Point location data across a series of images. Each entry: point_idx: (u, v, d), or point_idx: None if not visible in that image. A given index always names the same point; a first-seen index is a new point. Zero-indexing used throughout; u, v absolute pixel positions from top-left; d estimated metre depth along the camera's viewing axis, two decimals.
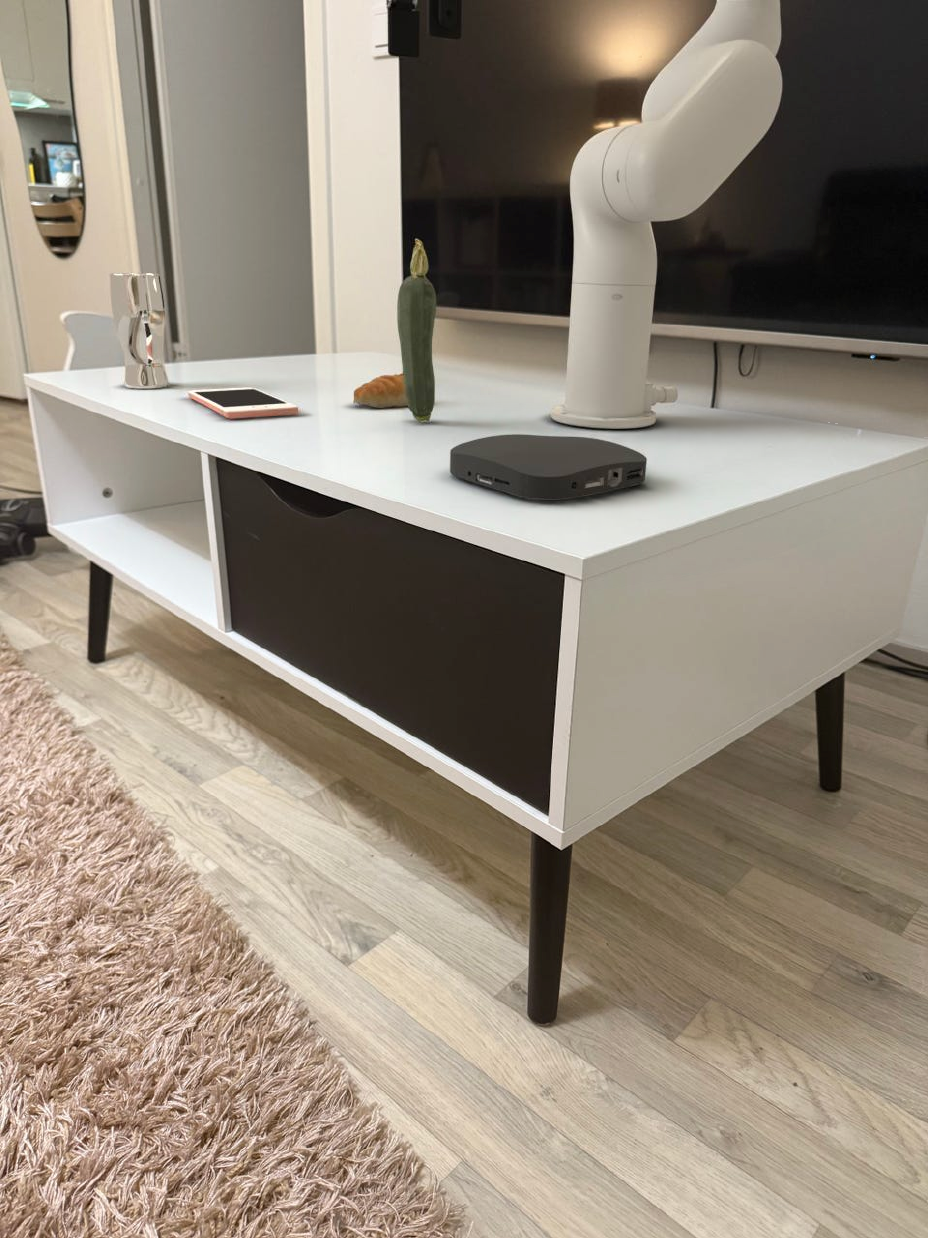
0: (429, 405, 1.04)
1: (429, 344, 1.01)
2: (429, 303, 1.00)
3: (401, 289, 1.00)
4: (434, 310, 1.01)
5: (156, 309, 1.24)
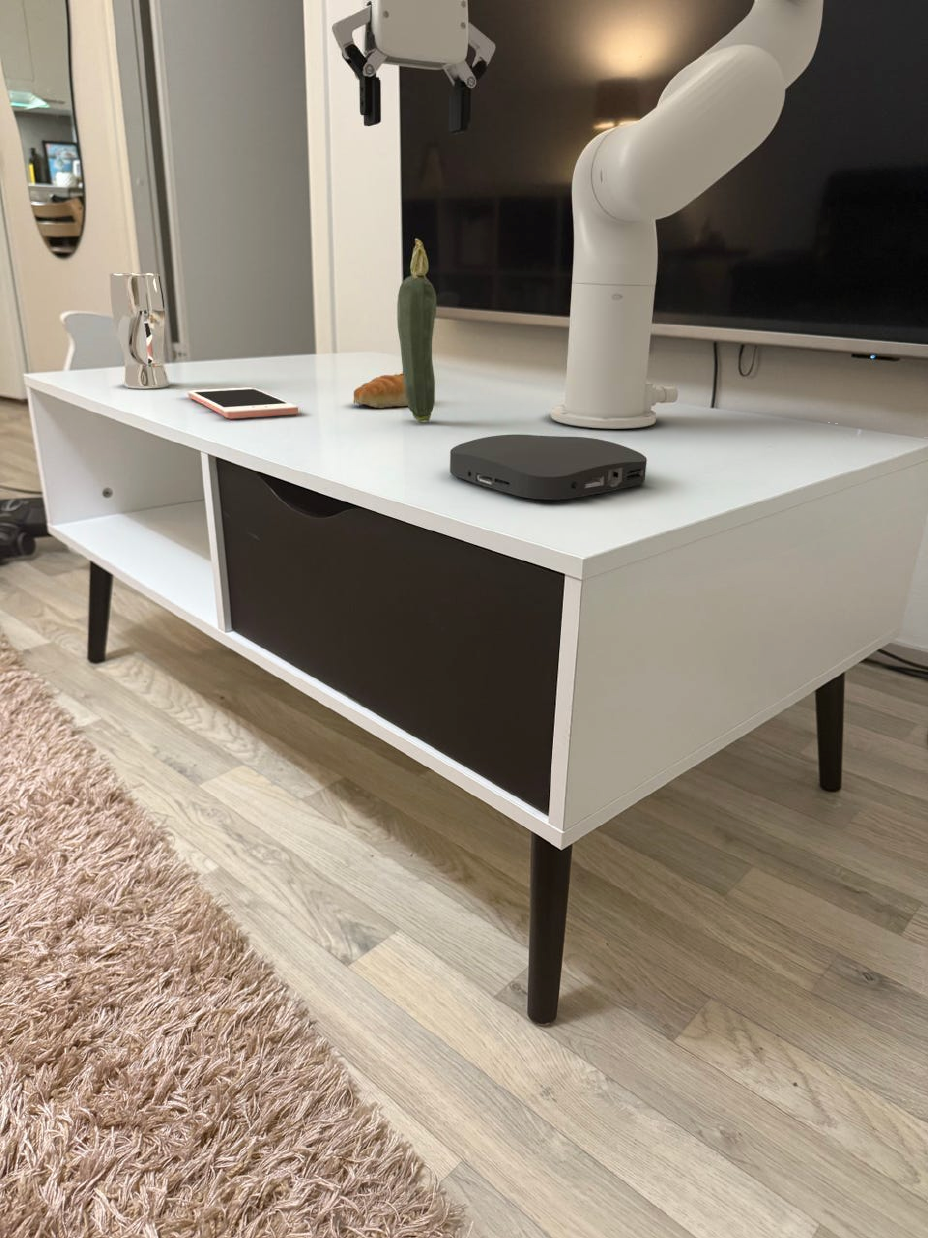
0: (429, 405, 1.04)
1: (429, 344, 1.01)
2: (429, 303, 1.00)
3: (401, 289, 1.00)
4: (434, 310, 1.01)
5: (156, 309, 1.24)
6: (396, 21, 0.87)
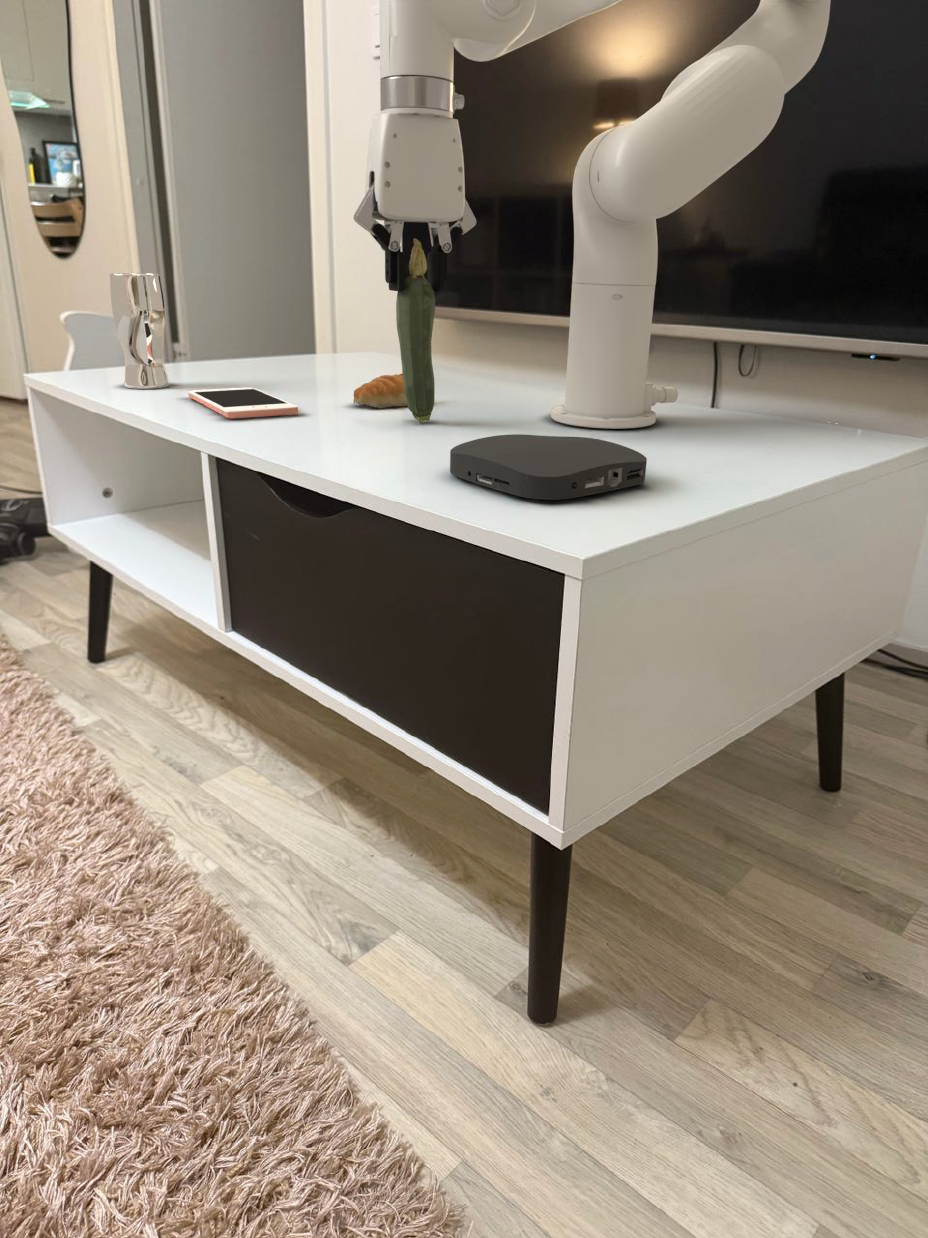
0: (429, 405, 1.04)
1: (429, 344, 1.01)
2: (428, 303, 0.99)
3: None
4: (433, 310, 1.01)
5: (156, 309, 1.24)
6: (397, 190, 0.94)
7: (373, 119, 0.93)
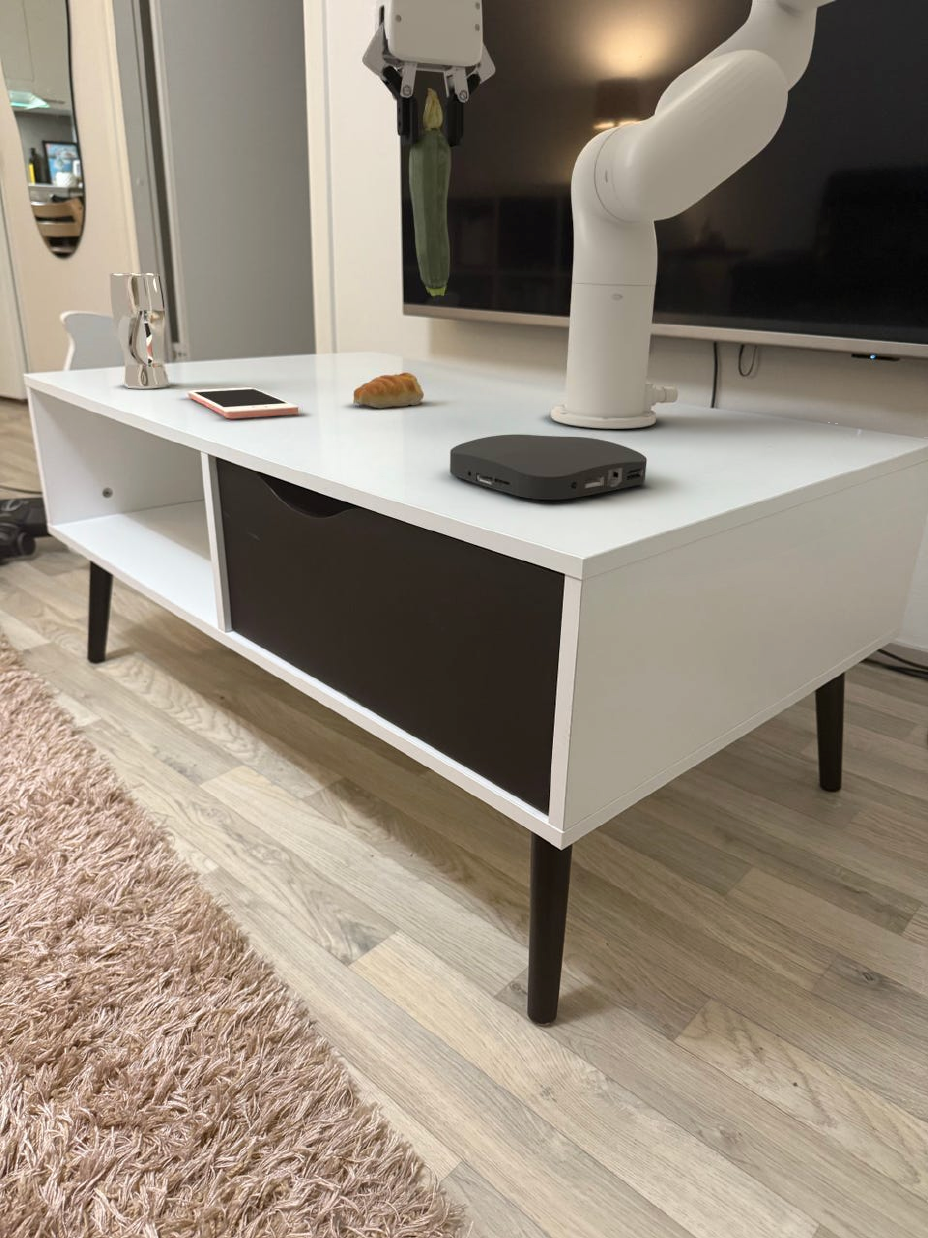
0: (444, 275, 0.97)
1: (444, 205, 0.94)
2: (443, 158, 0.92)
3: None
4: (449, 167, 0.93)
5: (156, 309, 1.24)
6: (409, 25, 0.86)
7: None
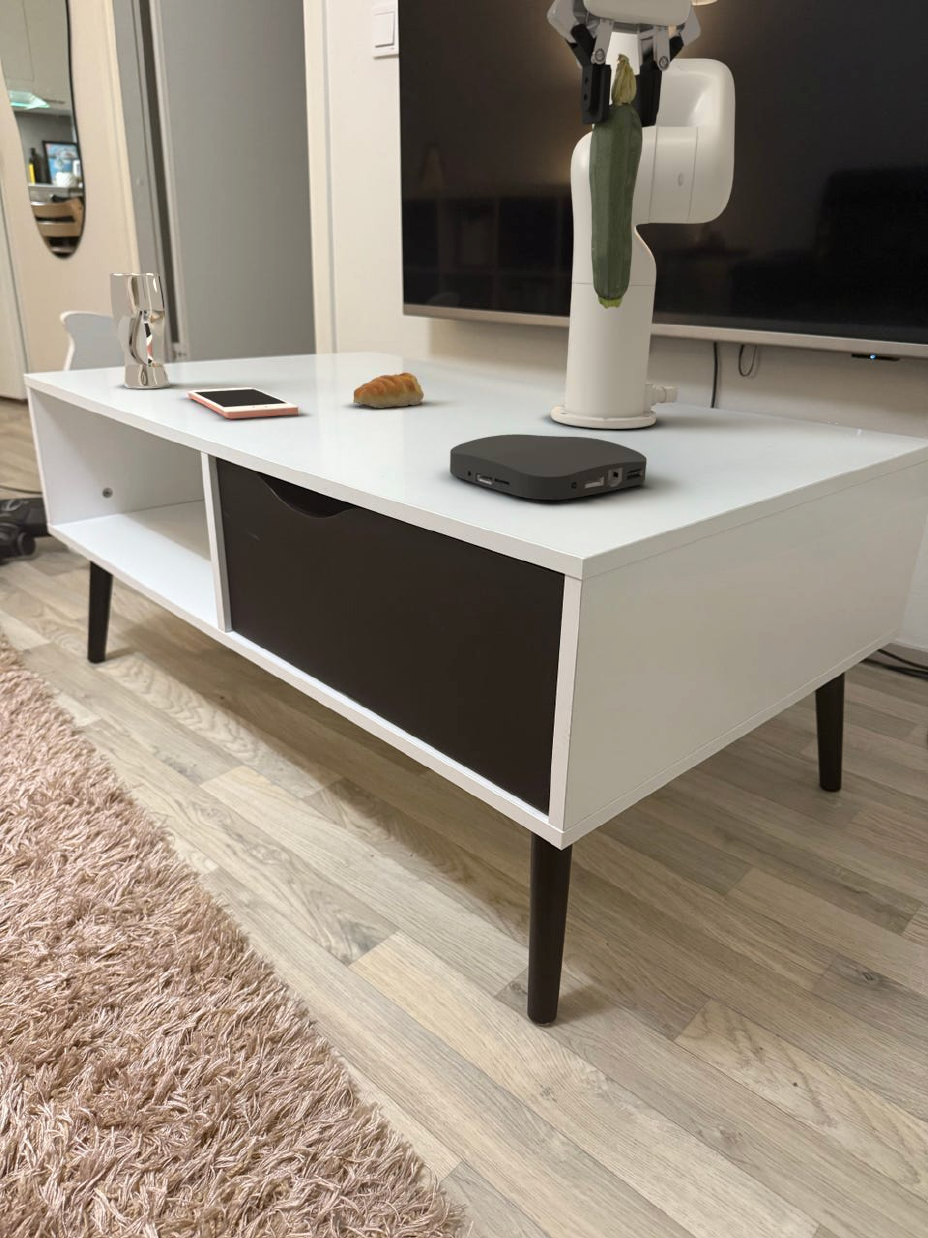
0: (624, 284, 0.80)
1: (632, 198, 0.77)
2: (636, 140, 0.75)
3: None
4: (640, 151, 0.76)
5: (156, 309, 1.24)
6: None
7: None
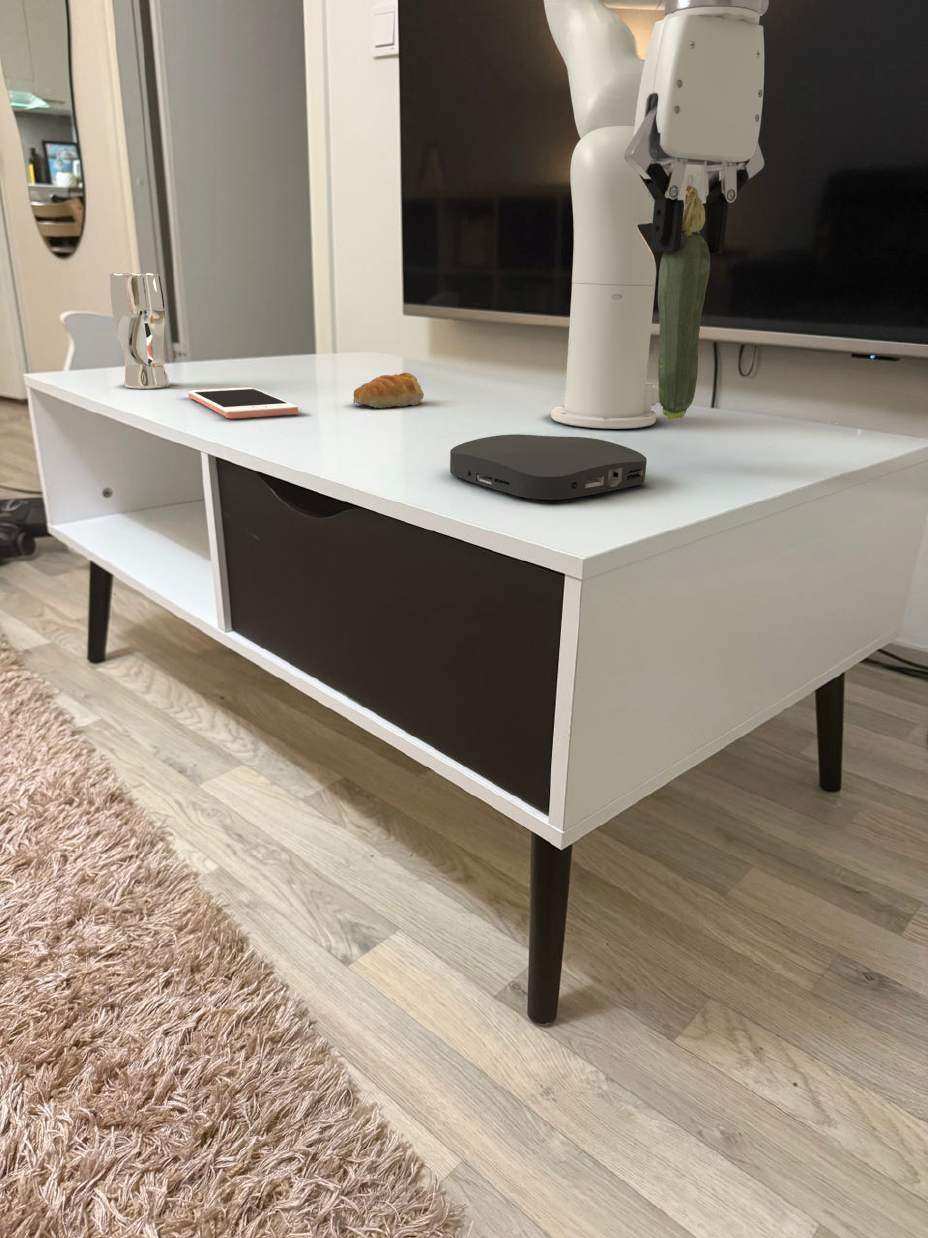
0: (690, 398, 0.83)
1: (700, 320, 0.80)
2: (705, 267, 0.78)
3: None
4: (708, 277, 0.79)
5: (156, 309, 1.24)
6: (687, 118, 0.72)
7: (658, 25, 0.72)
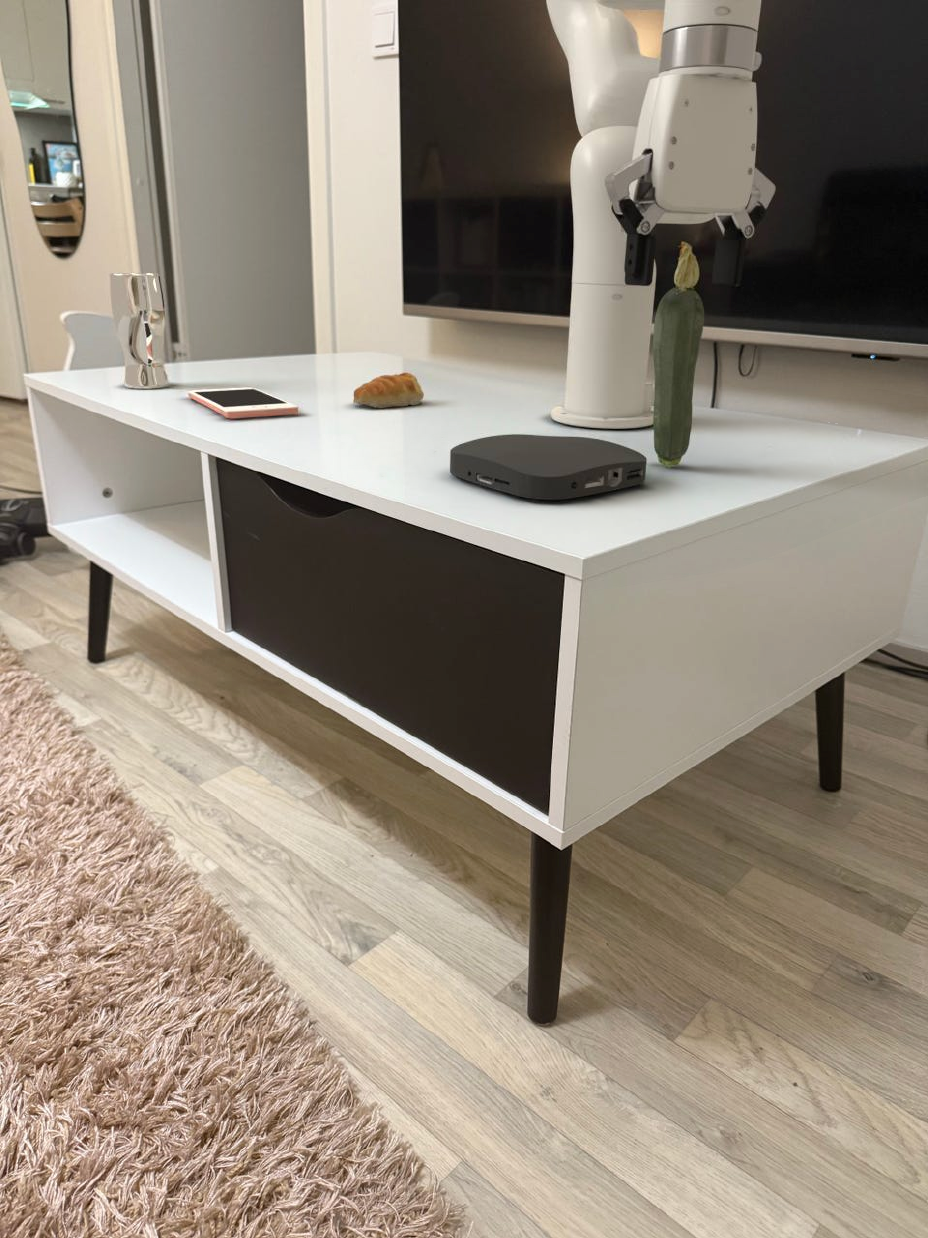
0: (684, 447, 0.85)
1: (694, 373, 0.82)
2: (699, 322, 0.80)
3: (664, 305, 0.80)
4: (702, 331, 0.81)
5: (156, 309, 1.24)
6: (681, 173, 0.74)
7: (653, 82, 0.73)
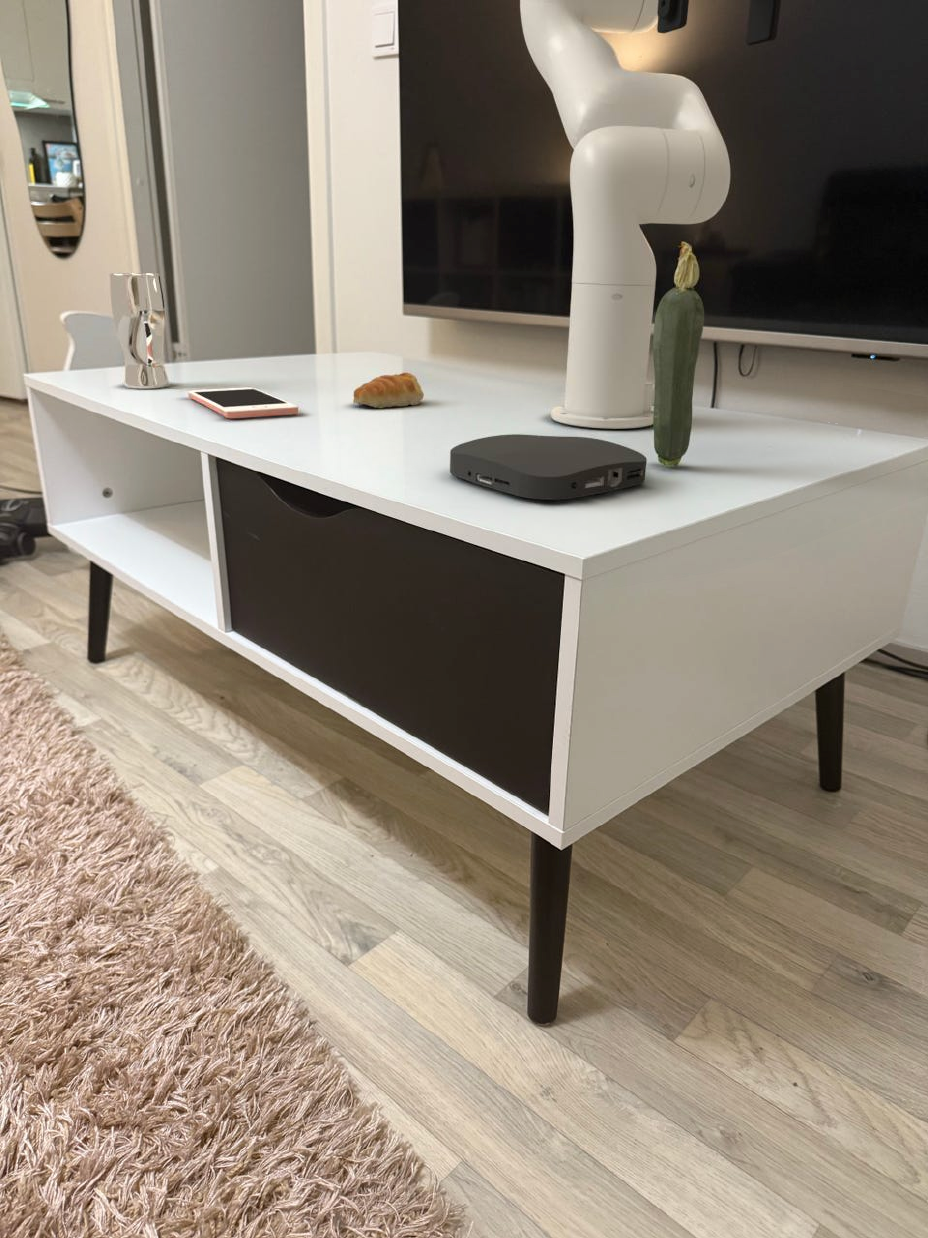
0: (684, 447, 0.85)
1: (694, 373, 0.81)
2: (699, 322, 0.80)
3: (664, 305, 0.80)
4: (702, 331, 0.81)
5: (156, 309, 1.24)
6: None
7: None
